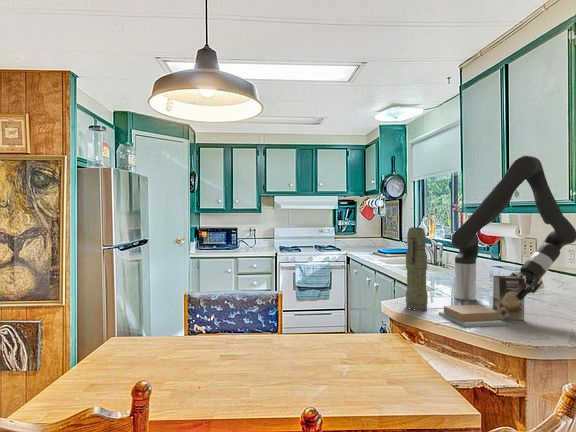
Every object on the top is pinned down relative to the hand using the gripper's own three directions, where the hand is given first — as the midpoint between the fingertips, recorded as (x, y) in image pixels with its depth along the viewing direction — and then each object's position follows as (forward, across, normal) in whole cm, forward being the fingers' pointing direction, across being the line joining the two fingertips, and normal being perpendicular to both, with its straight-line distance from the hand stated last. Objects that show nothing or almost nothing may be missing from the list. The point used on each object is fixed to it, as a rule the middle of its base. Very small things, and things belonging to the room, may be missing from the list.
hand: (510, 296), depth 147 cm
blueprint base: (+18, 0, -6) cm, 19 cm away
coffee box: (+7, 0, +6) cm, 9 cm away
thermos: (+26, -20, -14) cm, 36 cm away
